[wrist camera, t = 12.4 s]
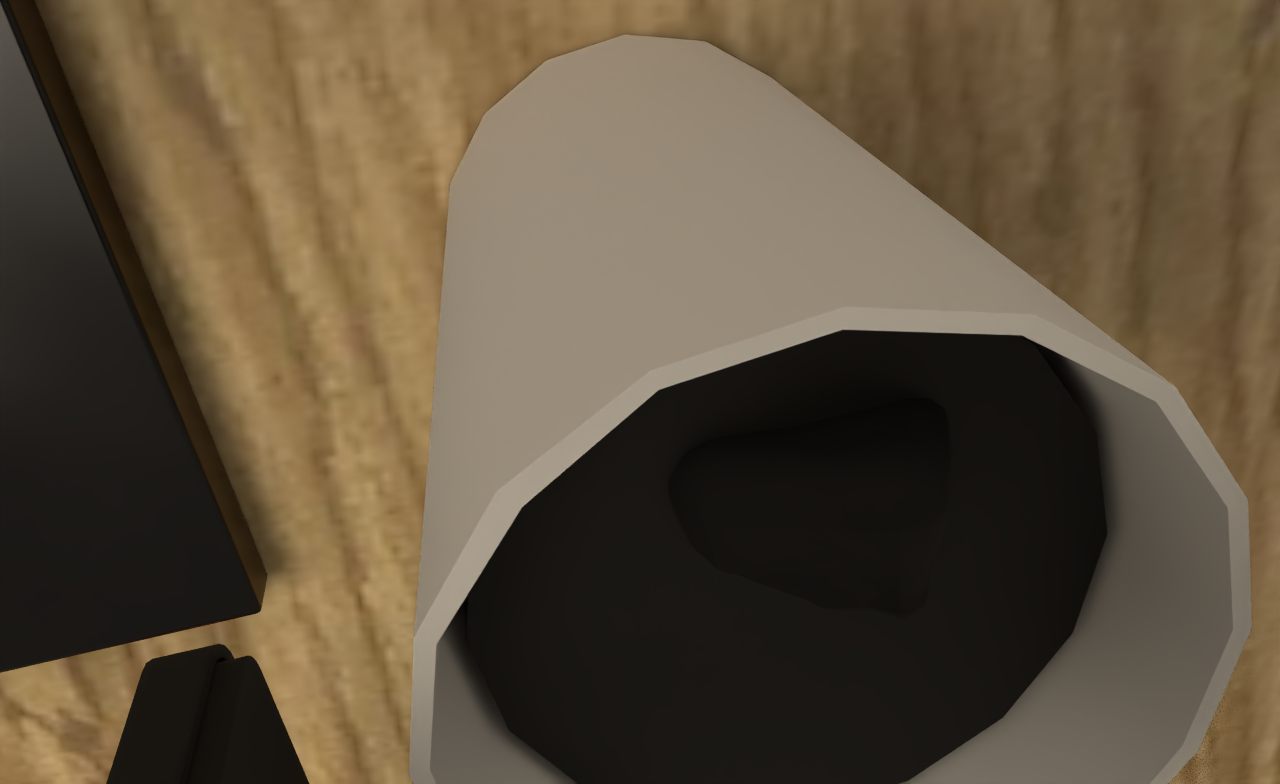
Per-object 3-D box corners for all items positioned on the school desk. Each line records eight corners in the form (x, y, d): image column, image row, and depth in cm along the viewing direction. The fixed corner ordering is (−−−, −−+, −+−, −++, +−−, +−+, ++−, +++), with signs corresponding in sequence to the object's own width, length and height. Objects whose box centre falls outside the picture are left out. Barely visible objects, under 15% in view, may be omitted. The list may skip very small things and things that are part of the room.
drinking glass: (373, 30, 16) (315, 382, 7) (860, -26, 17) (1336, 237, 8) (452, 456, 19) (475, 1049, 11) (858, 395, 20) (1192, 907, 11)
